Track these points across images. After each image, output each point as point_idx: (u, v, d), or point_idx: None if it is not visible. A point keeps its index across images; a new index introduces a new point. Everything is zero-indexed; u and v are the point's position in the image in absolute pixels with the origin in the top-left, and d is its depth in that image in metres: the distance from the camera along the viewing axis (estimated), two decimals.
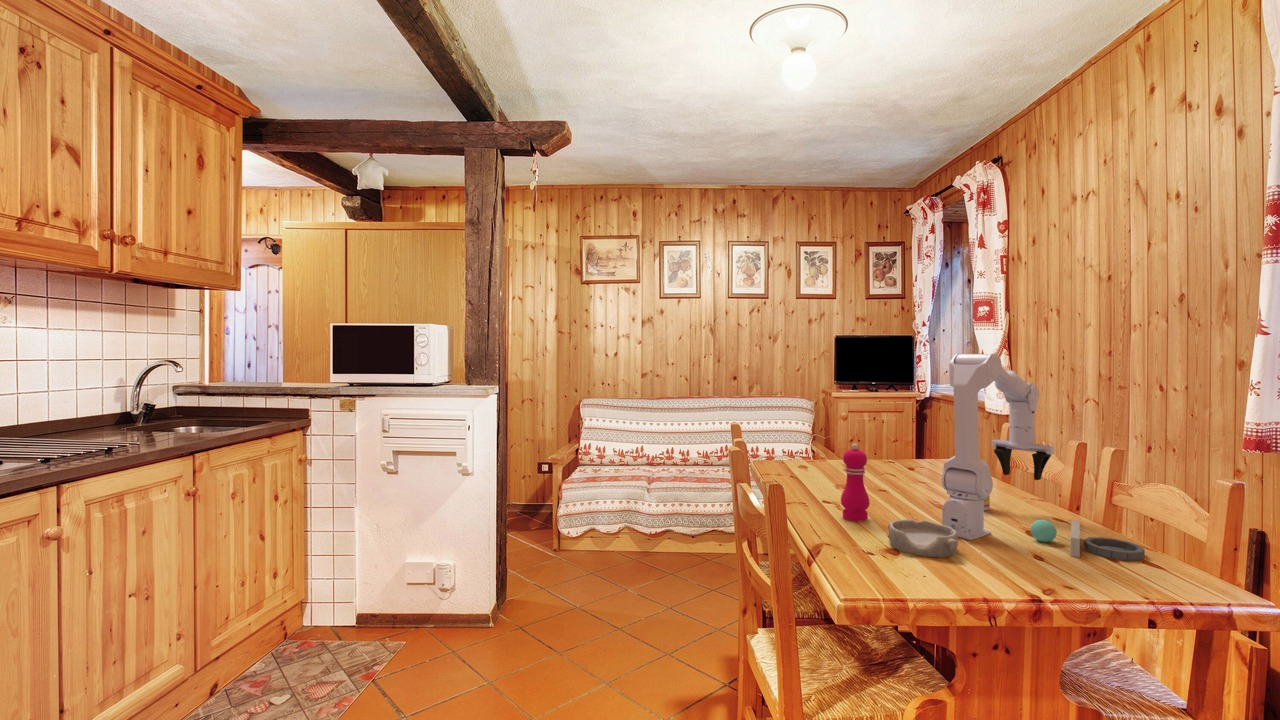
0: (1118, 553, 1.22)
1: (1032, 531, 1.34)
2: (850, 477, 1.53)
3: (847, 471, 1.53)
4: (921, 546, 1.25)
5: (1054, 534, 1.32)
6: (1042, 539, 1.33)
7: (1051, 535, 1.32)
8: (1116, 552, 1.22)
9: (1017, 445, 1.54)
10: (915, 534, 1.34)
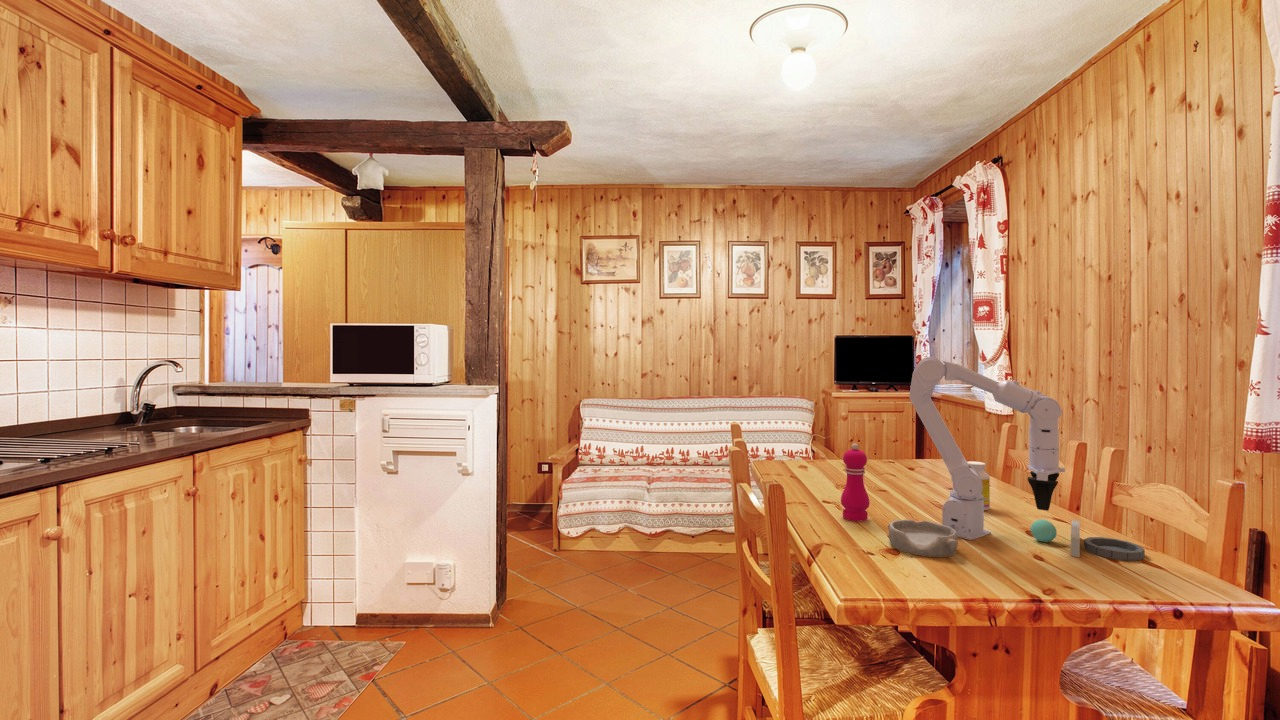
0: (1118, 553, 1.22)
1: (1032, 531, 1.34)
2: (850, 477, 1.53)
3: (847, 471, 1.53)
4: (921, 546, 1.25)
5: (1054, 534, 1.32)
6: (1042, 539, 1.33)
7: (1051, 535, 1.32)
8: (1116, 552, 1.22)
9: (1028, 466, 1.35)
10: (915, 534, 1.34)
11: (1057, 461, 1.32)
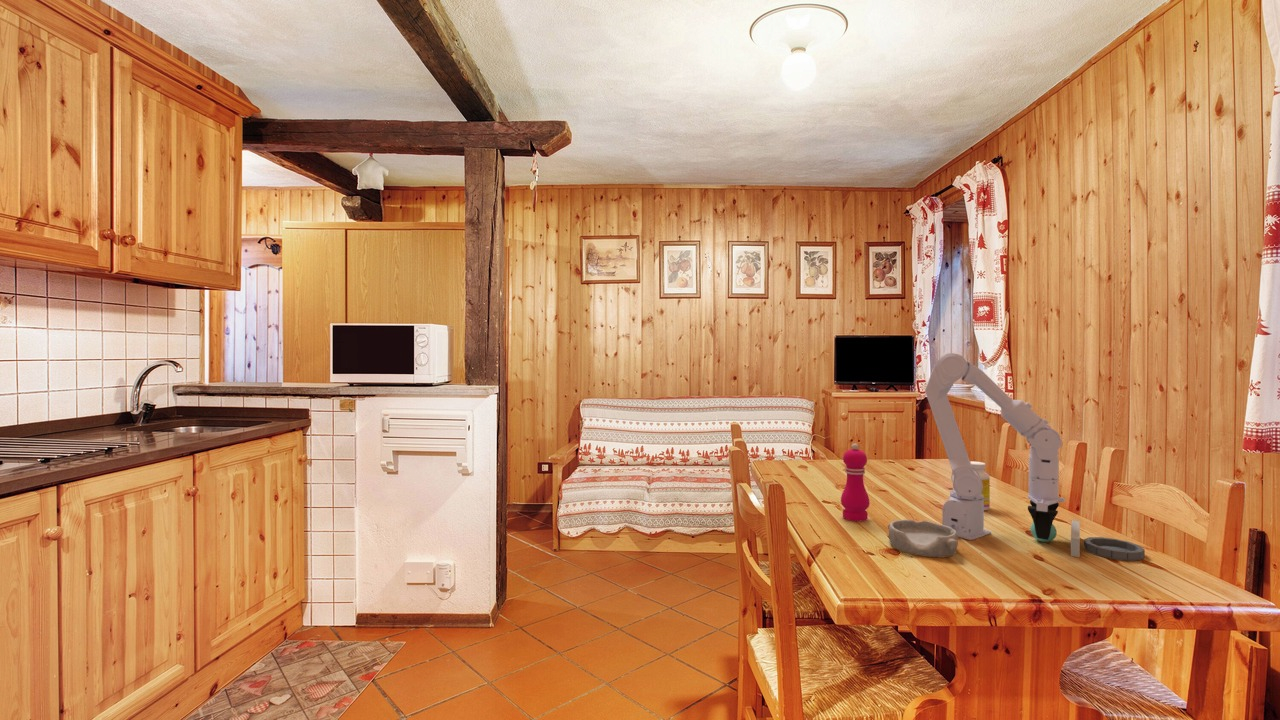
0: (1118, 553, 1.22)
1: (1032, 531, 1.34)
2: (850, 477, 1.53)
3: (847, 471, 1.53)
4: (921, 546, 1.25)
5: (1054, 534, 1.32)
6: (1042, 539, 1.33)
7: (1051, 535, 1.32)
8: (1116, 552, 1.22)
9: None
10: (915, 534, 1.34)
11: (1057, 491, 1.32)
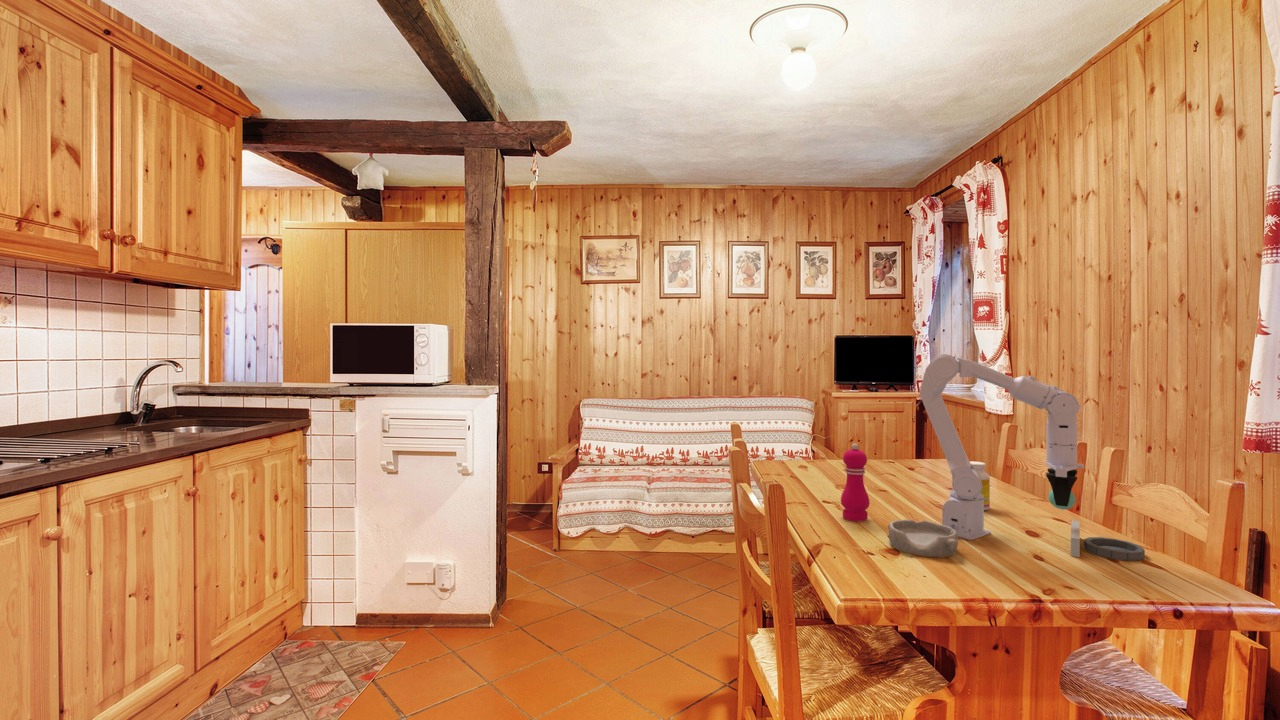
0: (1118, 553, 1.22)
1: (1050, 499, 1.32)
2: (850, 477, 1.53)
3: (847, 471, 1.53)
4: (921, 546, 1.25)
5: (1073, 501, 1.30)
6: (1061, 506, 1.30)
7: (1070, 502, 1.29)
8: (1116, 552, 1.22)
9: None
10: (915, 534, 1.34)
11: (1076, 457, 1.29)
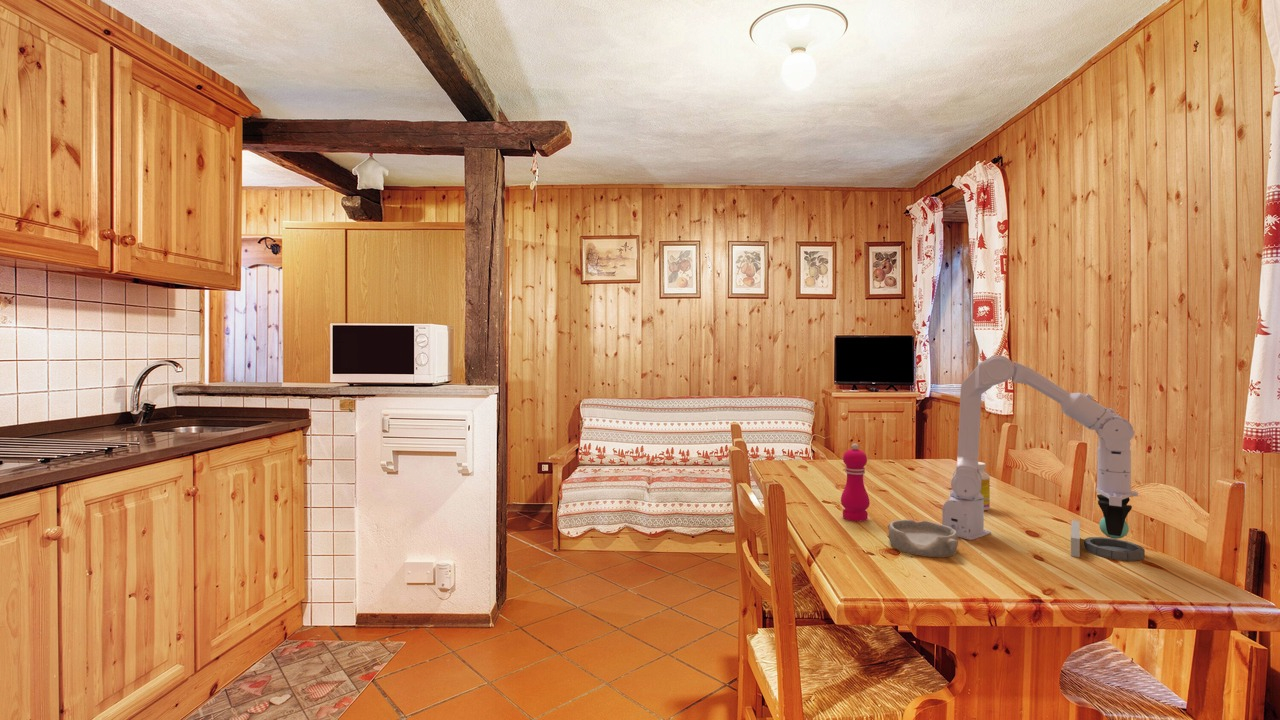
0: (1118, 553, 1.22)
1: (1102, 527, 1.26)
2: (850, 477, 1.53)
3: (847, 471, 1.53)
4: (921, 546, 1.25)
5: (1126, 530, 1.24)
6: (1113, 535, 1.25)
7: (1123, 531, 1.24)
8: (1116, 552, 1.22)
9: (1096, 489, 1.28)
10: (915, 534, 1.34)
11: (1130, 485, 1.24)
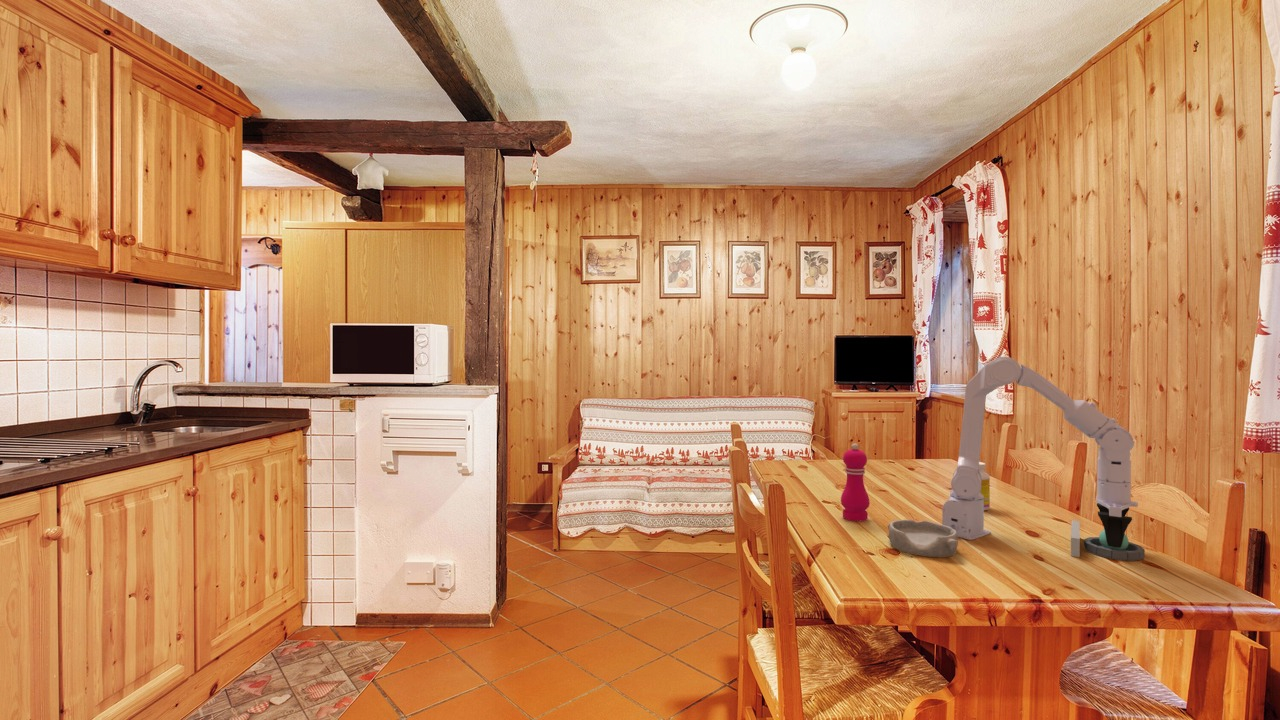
0: (1118, 553, 1.22)
1: (1102, 541, 1.26)
2: (850, 477, 1.53)
3: (847, 471, 1.53)
4: (921, 546, 1.25)
5: (1126, 544, 1.24)
6: None
7: (1123, 546, 1.24)
8: (1116, 552, 1.22)
9: (1096, 499, 1.28)
10: (915, 534, 1.34)
11: (1130, 495, 1.24)
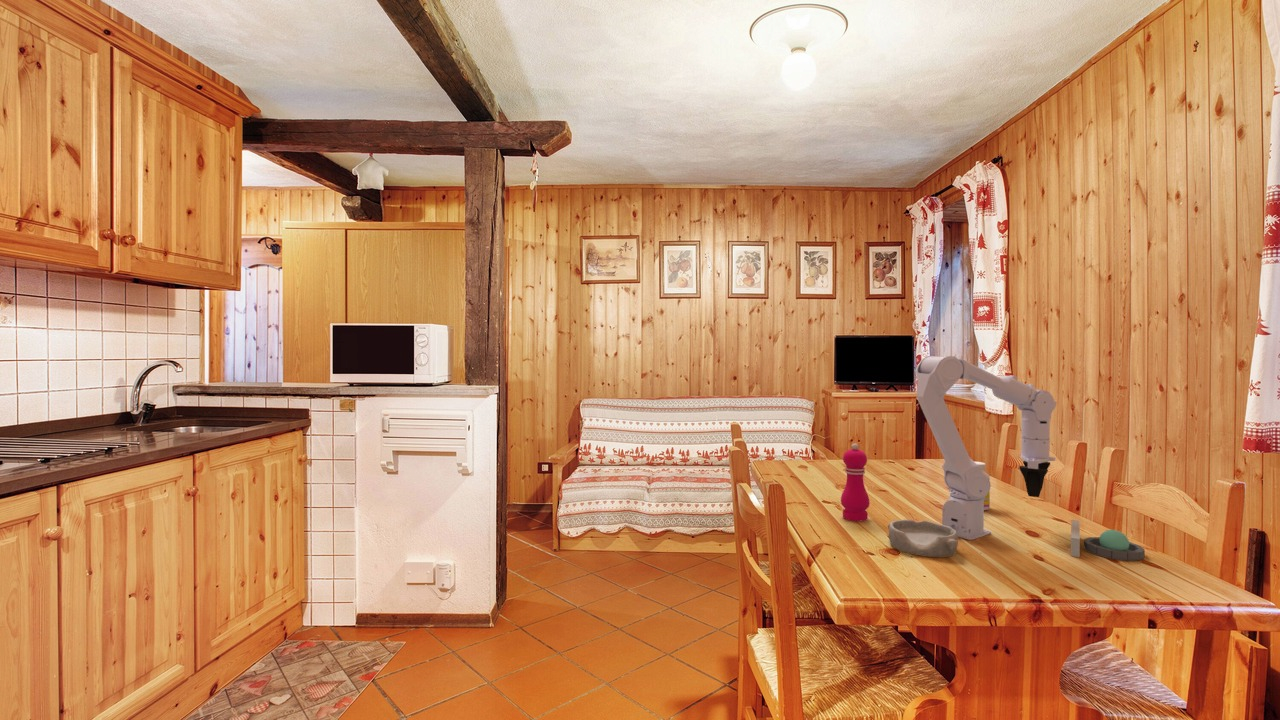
0: (1118, 553, 1.22)
1: (1102, 545, 1.25)
2: (850, 477, 1.53)
3: (847, 471, 1.53)
4: (921, 546, 1.25)
5: (1127, 549, 1.23)
6: None
7: None
8: (1116, 552, 1.22)
9: (1020, 456, 1.43)
10: (915, 534, 1.34)
11: (1048, 451, 1.39)
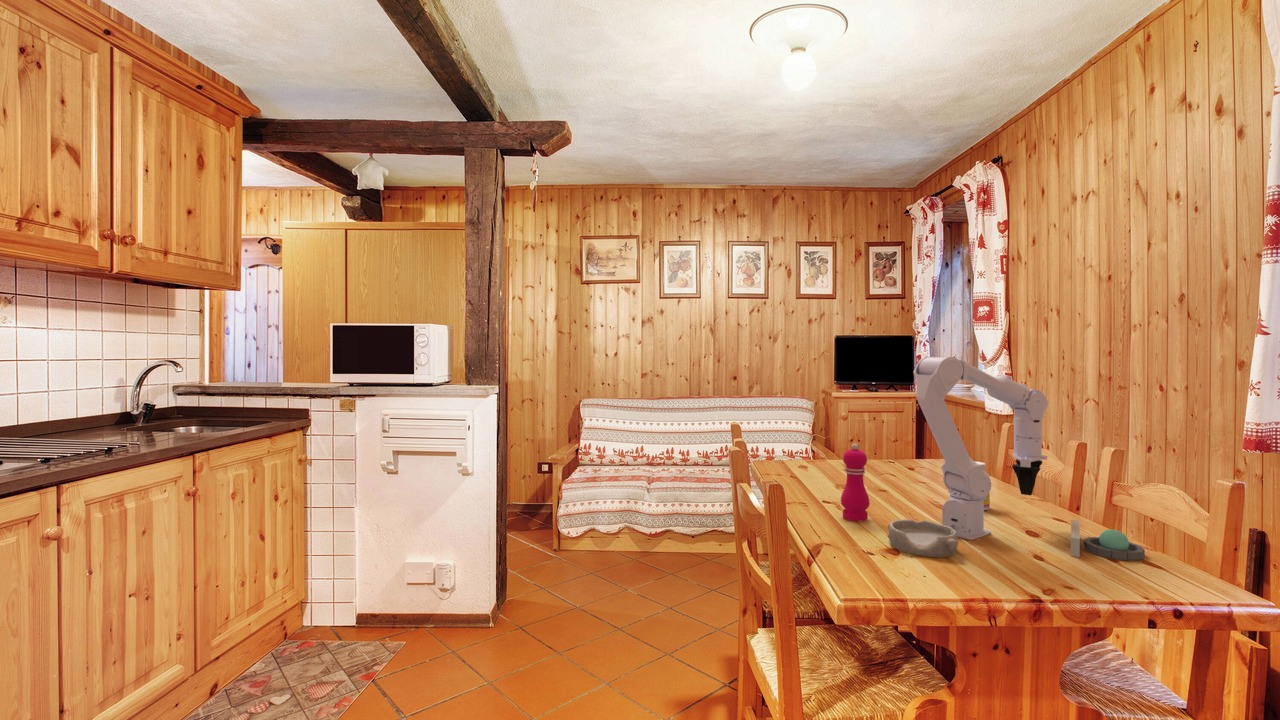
0: (1118, 553, 1.22)
1: (1102, 545, 1.26)
2: (850, 477, 1.53)
3: (847, 471, 1.53)
4: (921, 546, 1.25)
5: (1127, 548, 1.23)
6: None
7: None
8: (1116, 552, 1.22)
9: (1013, 454, 1.45)
10: (915, 534, 1.34)
11: (1040, 449, 1.41)
